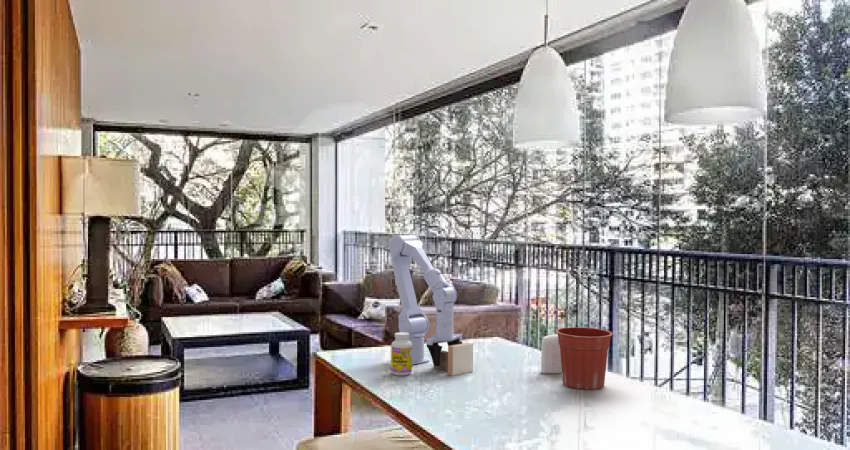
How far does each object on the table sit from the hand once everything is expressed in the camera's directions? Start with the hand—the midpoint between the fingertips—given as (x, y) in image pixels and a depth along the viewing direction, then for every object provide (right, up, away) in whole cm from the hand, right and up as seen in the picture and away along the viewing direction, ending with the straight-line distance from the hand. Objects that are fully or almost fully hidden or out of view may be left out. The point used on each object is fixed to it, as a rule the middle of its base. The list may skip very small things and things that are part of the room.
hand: (444, 364), depth 216 cm
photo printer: (+36, -2, -4) cm, 37 cm away
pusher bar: (0, -2, 0) cm, 2 cm away
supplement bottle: (-14, -2, -8) cm, 16 cm away
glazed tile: (+5, -2, -6) cm, 8 cm away
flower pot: (+41, -2, -20) cm, 46 cm away
